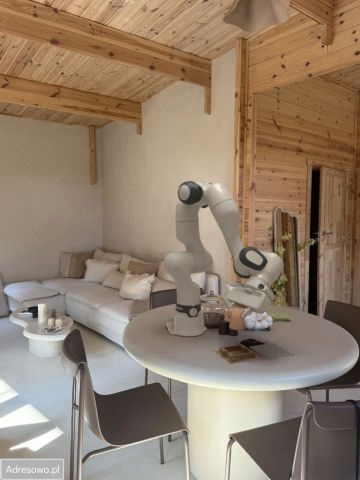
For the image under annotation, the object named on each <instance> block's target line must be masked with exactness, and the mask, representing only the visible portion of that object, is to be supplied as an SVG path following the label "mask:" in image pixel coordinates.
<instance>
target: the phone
mask: <svg viewBox="0 0 360 480" xmlns="http://www.w3.org/2000/svg"><path fill="white" fill-rule="evenodd" d="M259 330H261V331H260V332H271V331H270V330H271V327H268V328H265V329H259Z"/></svg>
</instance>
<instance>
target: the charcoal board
mask: <svg viewBox="0 0 360 480" xmlns="http://www.w3.org/2000/svg"><path fill="white" fill-rule="evenodd" d="M249 349H250V350H252V351H253V352H254V351H255V353H256V352H257V354H259V355H261V356H263V357H264V358H266V359H267V360H273V359H278V358H284V357H289V356H290V357H291V356H293V357H295V354H294V353H292V352H291V351H288V350H287V349H285V348H283V347H281V346H279V345H277V344H276V343H273V342H272V343H271V342H270V343H265V344H258V345H257V344H256V345H252V346H249Z"/></svg>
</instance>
